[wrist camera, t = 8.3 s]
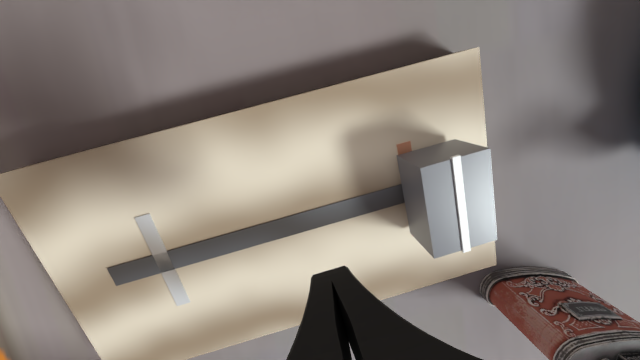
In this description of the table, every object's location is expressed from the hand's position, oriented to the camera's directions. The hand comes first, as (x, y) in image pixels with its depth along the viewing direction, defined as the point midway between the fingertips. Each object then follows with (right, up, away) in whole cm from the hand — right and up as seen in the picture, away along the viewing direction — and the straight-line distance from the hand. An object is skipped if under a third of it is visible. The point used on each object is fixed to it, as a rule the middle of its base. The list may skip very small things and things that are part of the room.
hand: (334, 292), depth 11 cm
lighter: (+16, -4, +13) cm, 21 cm away
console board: (-3, +2, +9) cm, 10 cm away
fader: (+6, +4, +7) cm, 10 cm away
